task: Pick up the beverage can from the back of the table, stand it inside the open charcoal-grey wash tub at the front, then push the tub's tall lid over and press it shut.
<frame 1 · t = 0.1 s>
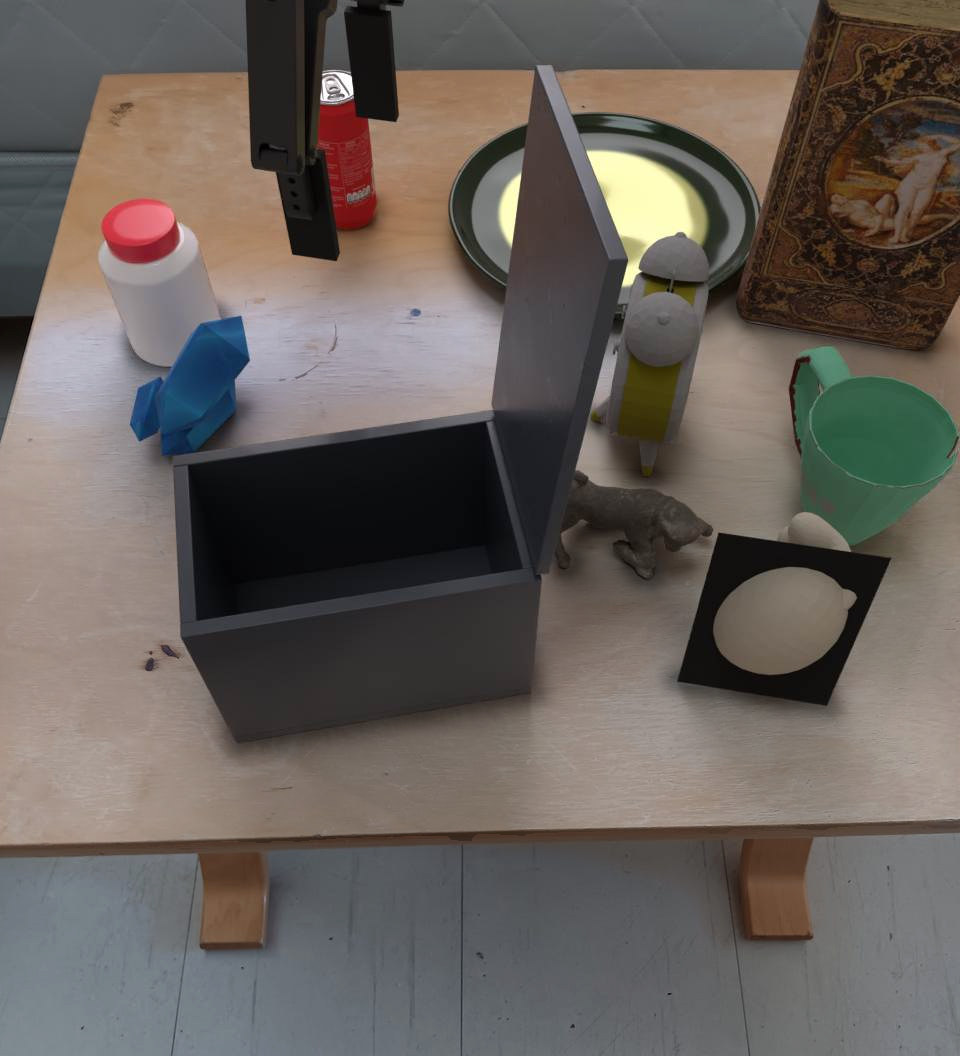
hand: (348, 182, 61), 21 cm above the table, tool pointing down, fingers open, 13 cm apart
washer lid: (543, 349, 49), point 25 cm above the table, hinge at 95.0°
crystal: (208, 426, 79), on the table
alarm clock: (631, 427, 79), on the table
decorative object: (753, 645, 69), on the table
pill bottle: (177, 335, 84), on the table
plate: (601, 229, 91), on the table
washer: (373, 636, 69), on the table
book: (831, 316, 85), on the table
dog figurine: (622, 550, 73), on the table
beverage can: (350, 216, 92), on the table
mug: (820, 497, 75), on the table
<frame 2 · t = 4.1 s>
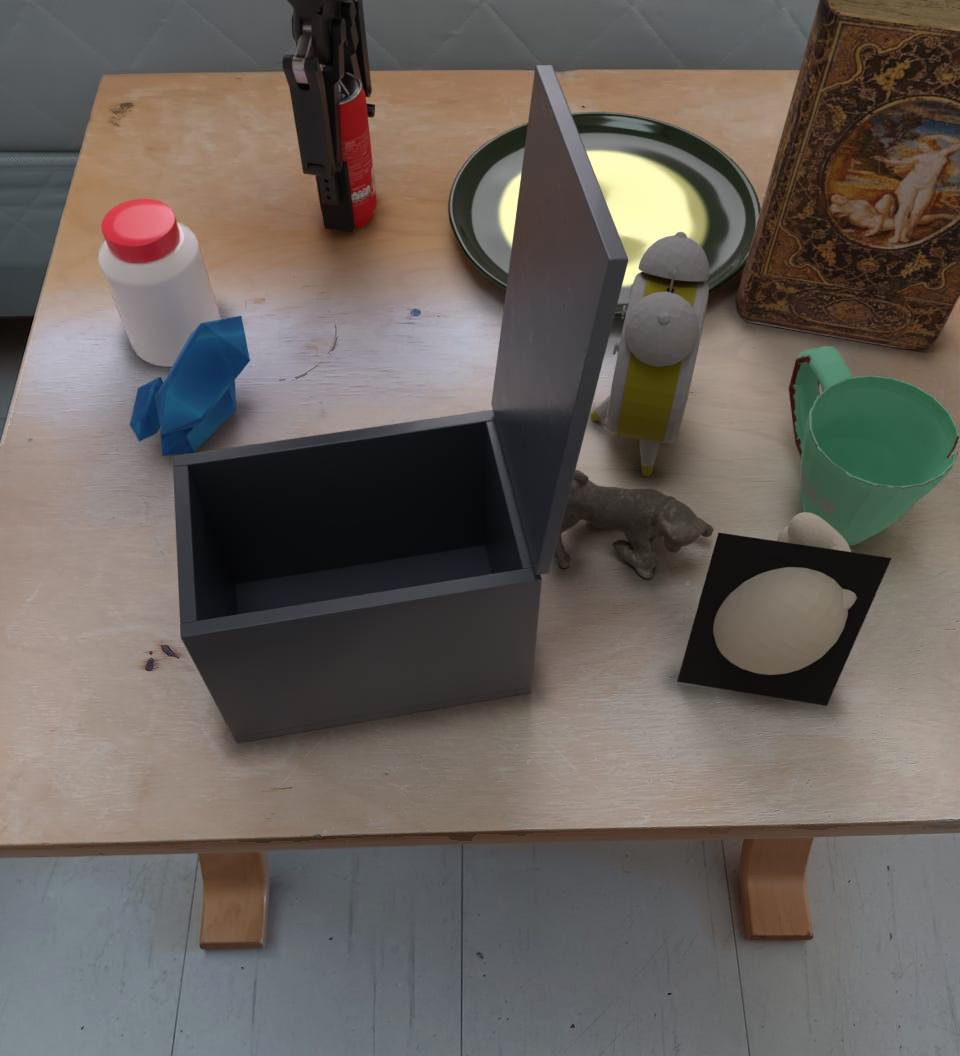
hand: (348, 207, 91), 1 cm above the table, tool pointing down, fingers closed on beverage can, 5 cm apart
beverage can: (350, 216, 92), on the table, touching gripper
everything else where it was.
when the fingers open (5 cm above the table, at t = 14.7 s): beverage can stays where it is, resting on washer.
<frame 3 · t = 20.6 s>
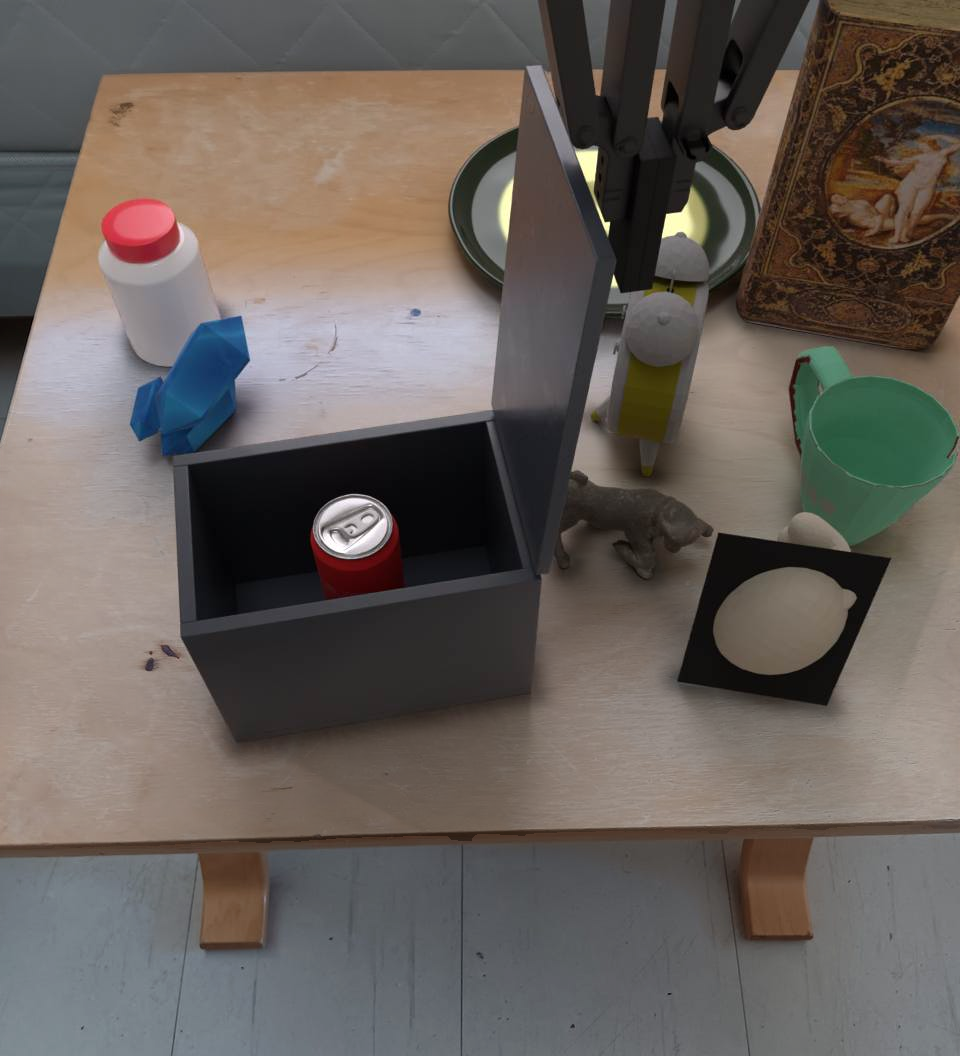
hand: (628, 270, 45), 29 cm above the table, tool pointing down, fingers closed
washer lid: (538, 349, 49), point 25 cm above the table, hinge at 93.7°, touching gripper
beverage can: (372, 631, 68), point 1 cm above the table, touching washer
everything else where it was.
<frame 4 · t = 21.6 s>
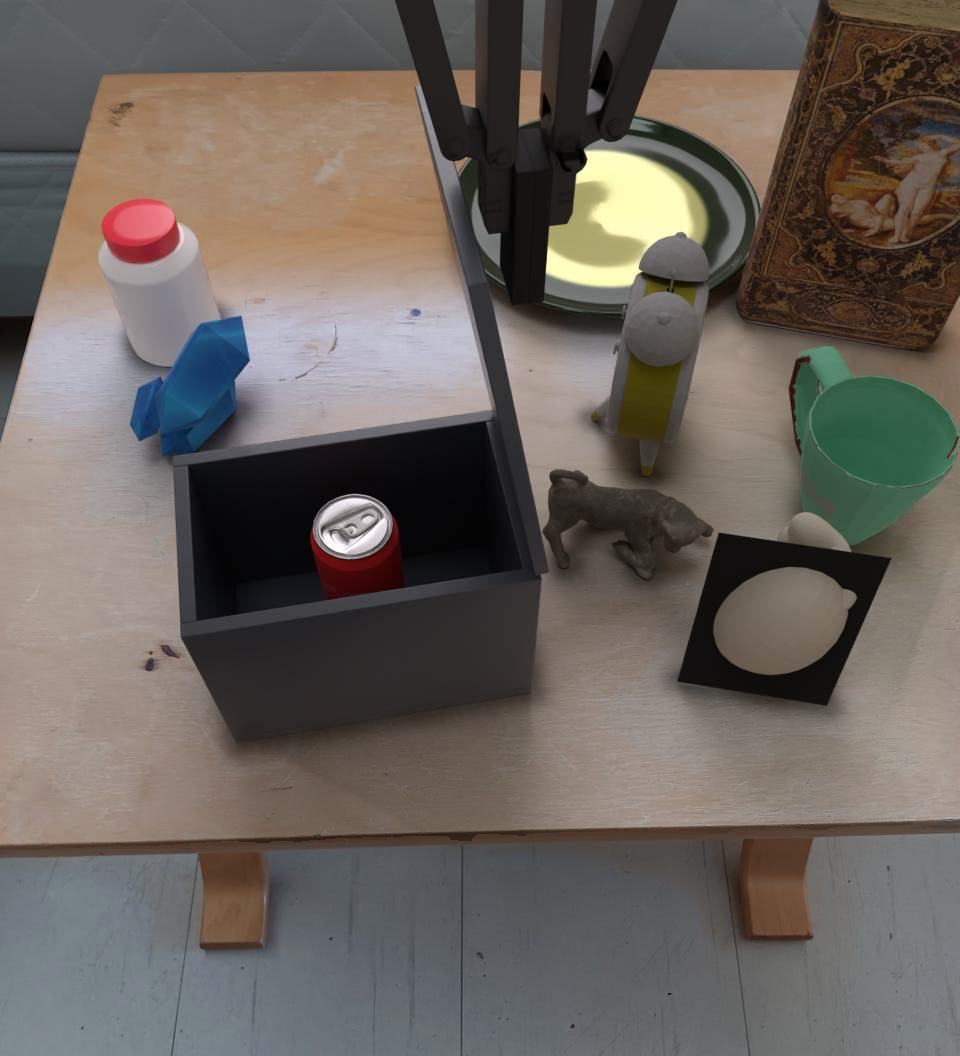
hand: (521, 282, 45), 29 cm above the table, tool pointing down, fingers closed
washer lid: (489, 358, 49), point 24 cm above the table, hinge at 80.1°, touching gripper
everything else where it was.
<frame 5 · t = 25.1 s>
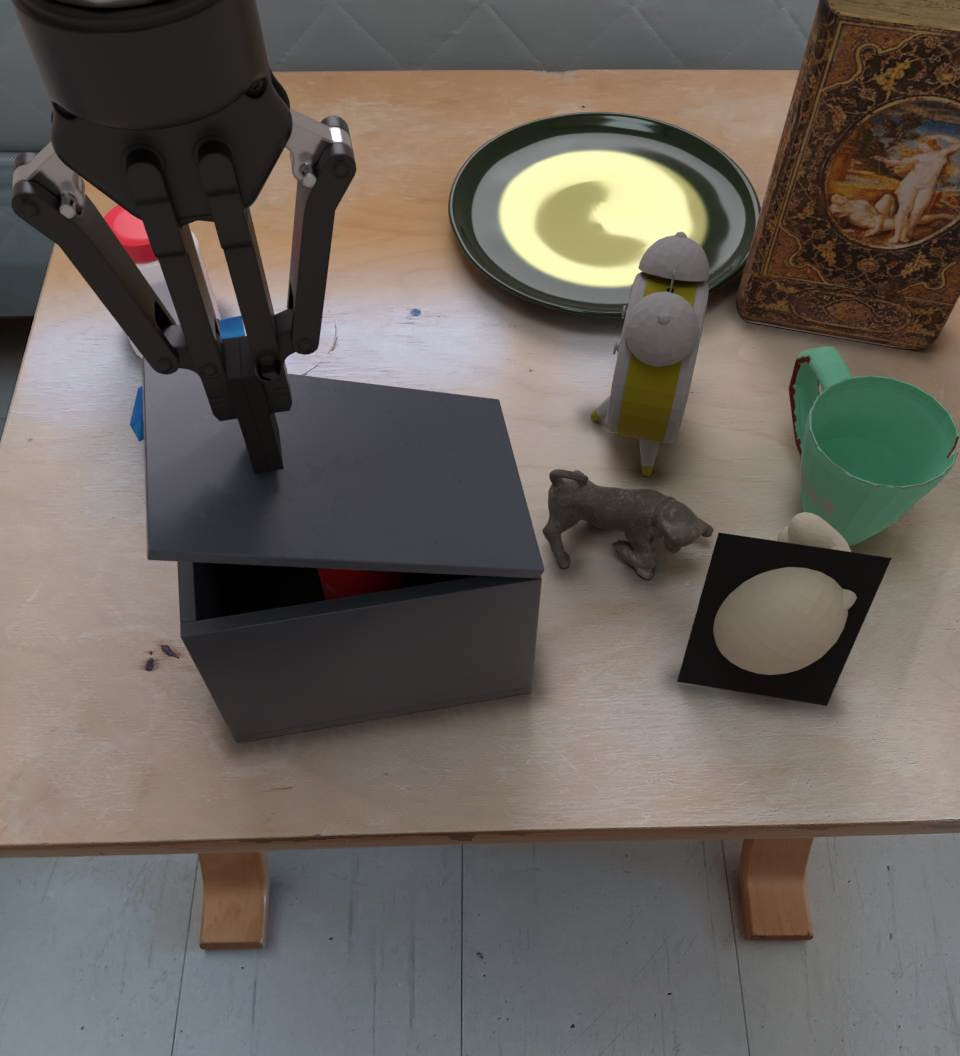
hand: (266, 450, 51), 20 cm above the table, tool pointing down, fingers closed
washer lid: (345, 469, 54), point 18 cm above the table, hinge at 20.1°, touching gripper
everything else where it was.
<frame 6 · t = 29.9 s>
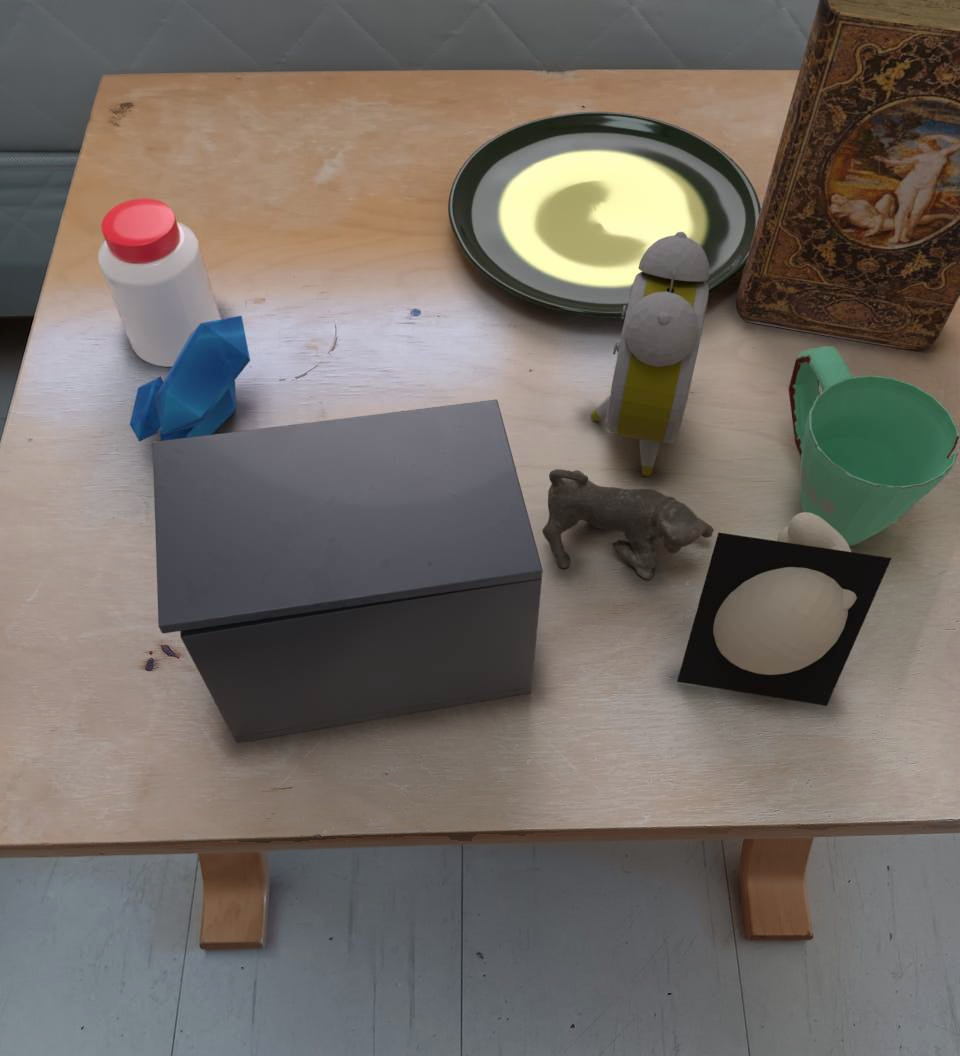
washer lid: (341, 508, 56), point 15 cm above the table, hinge at 1.5°
everything else where it was.
at the end: beverage can 0.1 cm from the washer (horizontally); beverage can tilted 0°; washer lid at +2° (first picture: +95°) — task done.
